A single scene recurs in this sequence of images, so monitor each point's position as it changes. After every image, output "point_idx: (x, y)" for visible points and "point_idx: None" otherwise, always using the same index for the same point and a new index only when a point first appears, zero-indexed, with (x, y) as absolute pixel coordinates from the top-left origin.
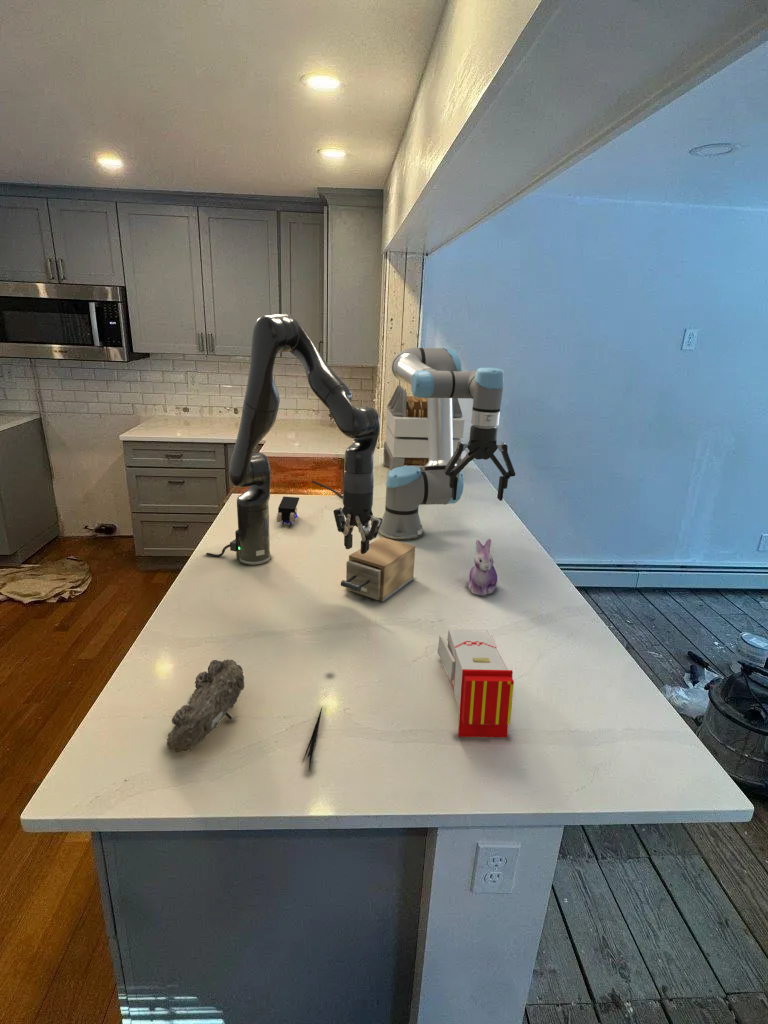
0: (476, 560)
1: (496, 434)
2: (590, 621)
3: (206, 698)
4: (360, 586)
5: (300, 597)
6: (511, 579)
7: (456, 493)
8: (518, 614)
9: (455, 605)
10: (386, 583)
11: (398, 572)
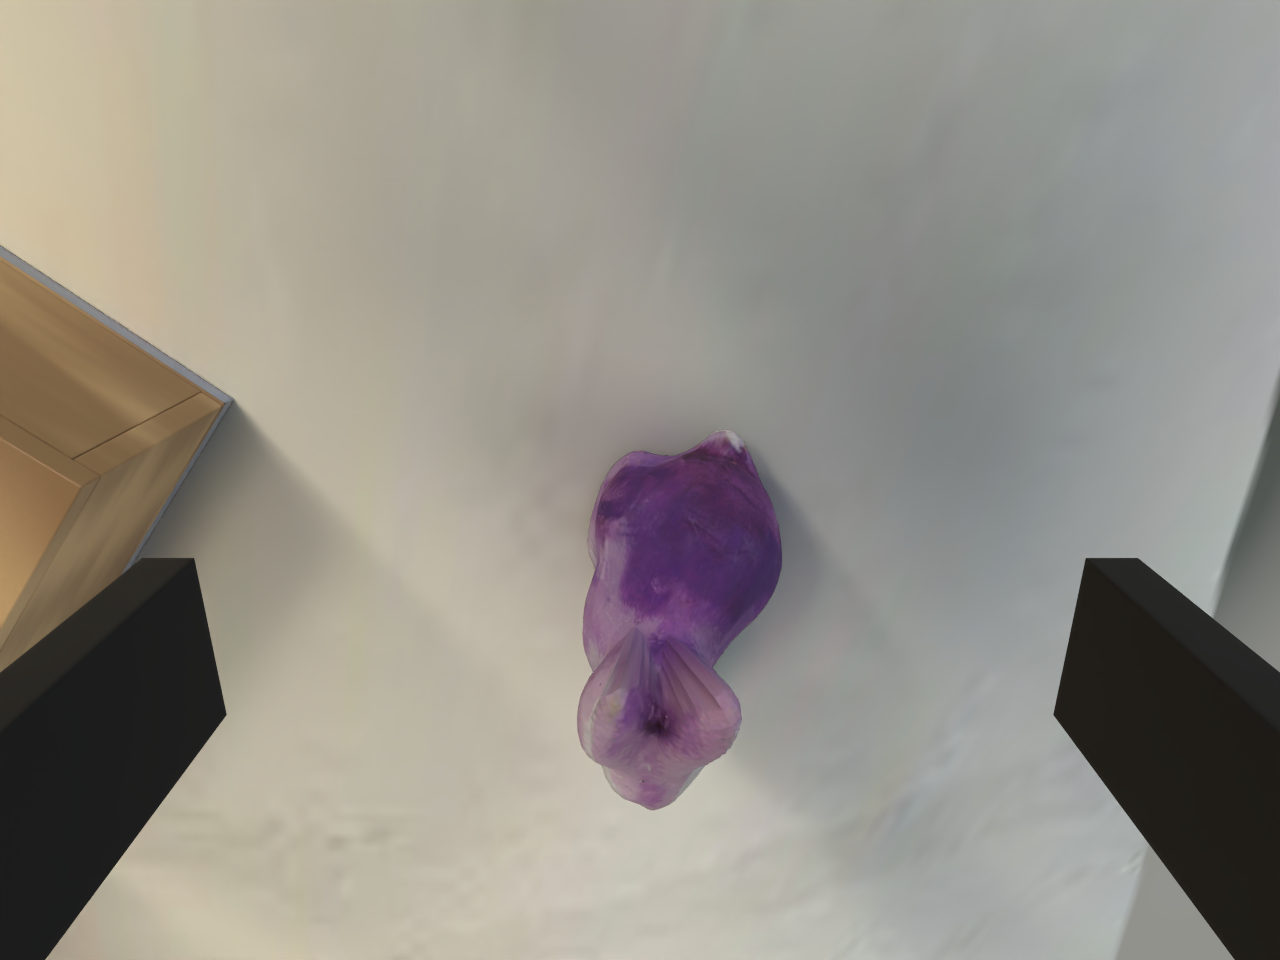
0: (585, 751)
1: None
2: (1127, 855)
3: None
4: None
5: None
6: (924, 411)
7: (158, 806)
8: (790, 794)
9: (474, 711)
10: None
11: (59, 615)
